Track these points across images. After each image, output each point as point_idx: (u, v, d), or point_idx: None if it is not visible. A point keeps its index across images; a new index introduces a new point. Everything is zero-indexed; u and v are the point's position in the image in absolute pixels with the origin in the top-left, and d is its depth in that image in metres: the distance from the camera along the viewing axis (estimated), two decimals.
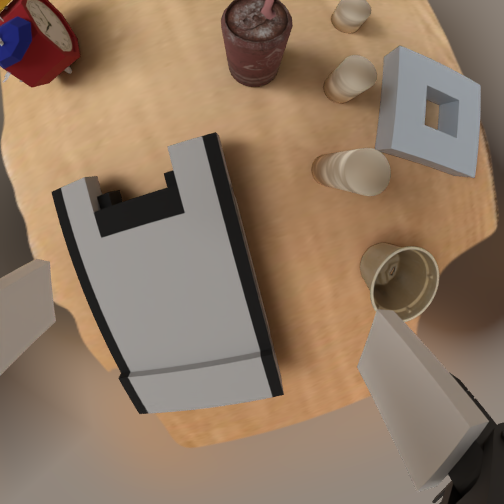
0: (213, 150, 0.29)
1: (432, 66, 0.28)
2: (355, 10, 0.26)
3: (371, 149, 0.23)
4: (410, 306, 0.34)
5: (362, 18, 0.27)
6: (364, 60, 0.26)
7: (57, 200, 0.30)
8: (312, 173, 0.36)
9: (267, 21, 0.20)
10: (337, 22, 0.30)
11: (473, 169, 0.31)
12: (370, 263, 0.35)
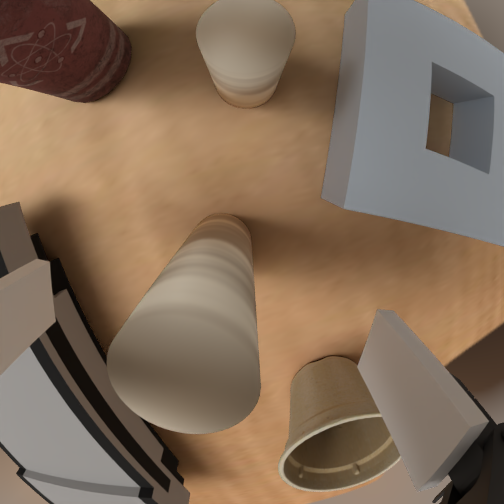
0: None
1: (441, 25, 0.12)
2: None
3: (176, 320, 0.06)
4: (360, 463, 0.18)
5: None
6: (261, 2, 0.09)
7: None
8: None
9: None
10: None
11: None
12: (295, 407, 0.20)
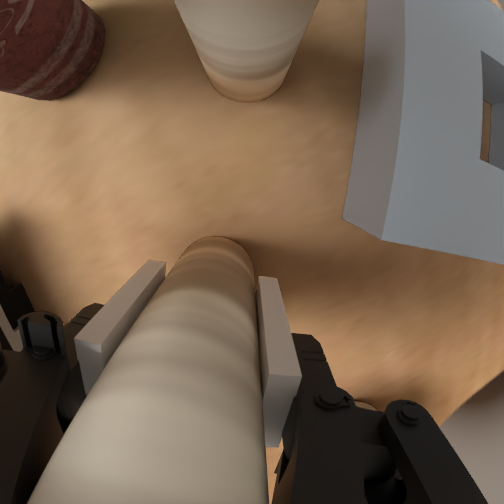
0: None
1: (485, 9, 0.07)
2: None
3: None
4: None
5: None
6: None
7: None
8: None
9: None
10: None
11: None
12: None
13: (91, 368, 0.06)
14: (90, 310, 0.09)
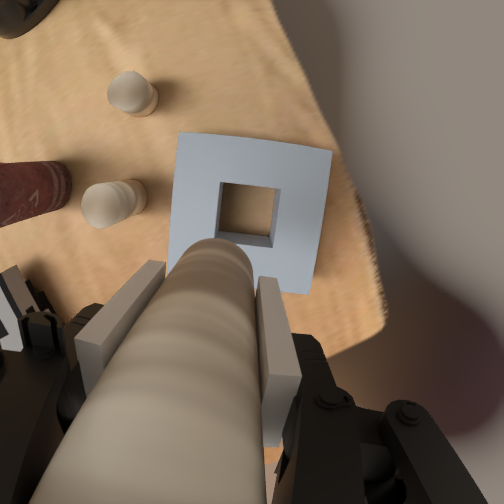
0: (4, 287, 0.28)
1: (233, 147, 0.26)
2: (123, 97, 0.24)
3: None
4: None
5: (130, 106, 0.25)
6: (104, 188, 0.24)
7: None
8: None
9: None
10: None
11: (306, 284, 0.30)
12: None
13: (91, 368, 0.06)
14: (90, 310, 0.09)
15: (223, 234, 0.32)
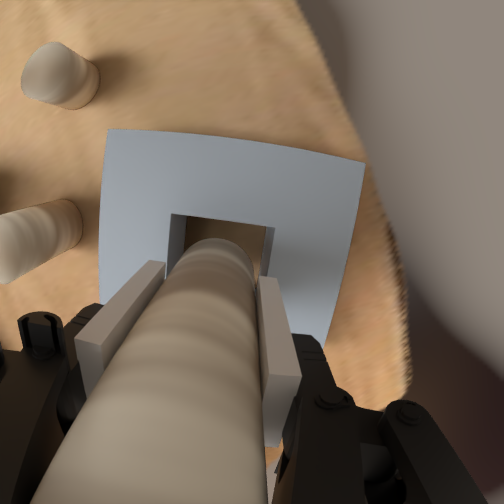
0: None
1: (193, 154, 0.15)
2: (38, 80, 0.13)
3: None
4: None
5: (45, 93, 0.13)
6: None
7: None
8: None
9: None
10: None
11: None
12: None
13: (91, 368, 0.06)
14: (90, 310, 0.09)
15: None
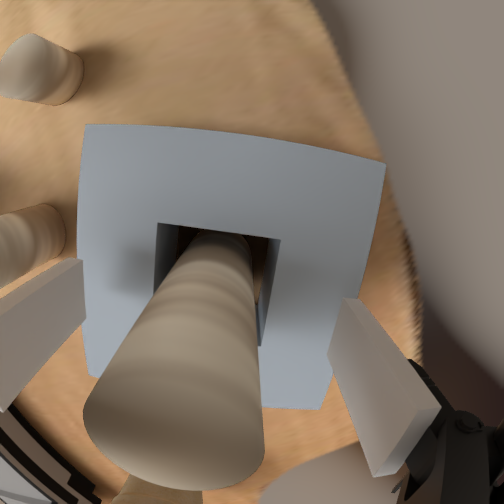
0: None
1: (183, 152, 0.12)
2: (12, 77, 0.11)
3: (161, 385, 0.05)
4: None
5: (19, 92, 0.11)
6: None
7: None
8: None
9: None
10: None
11: (317, 396, 0.16)
12: (126, 480, 0.20)
13: None
14: None
15: None
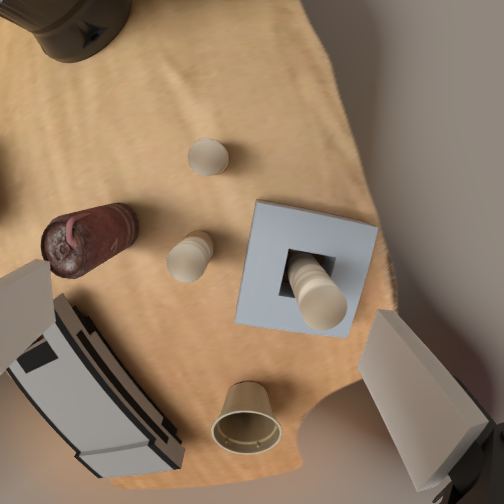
0: None
1: (301, 221, 0.32)
2: (203, 163, 0.31)
3: (329, 288, 0.25)
4: (261, 441, 0.38)
5: (208, 174, 0.31)
6: (191, 249, 0.30)
7: None
8: None
9: (71, 252, 0.24)
10: None
11: (346, 330, 0.35)
12: None
13: None
14: None
15: (281, 286, 0.38)
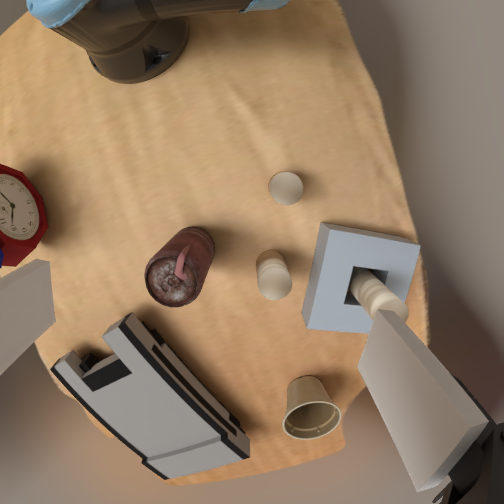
0: (129, 334, 0.39)
1: (364, 243, 0.38)
2: (283, 194, 0.36)
3: (397, 301, 0.30)
4: (320, 427, 0.44)
5: (287, 204, 0.36)
6: (281, 272, 0.35)
7: (56, 374, 0.41)
8: None
9: (180, 284, 0.30)
10: None
11: None
12: (289, 399, 0.45)
13: None
14: None
15: None
